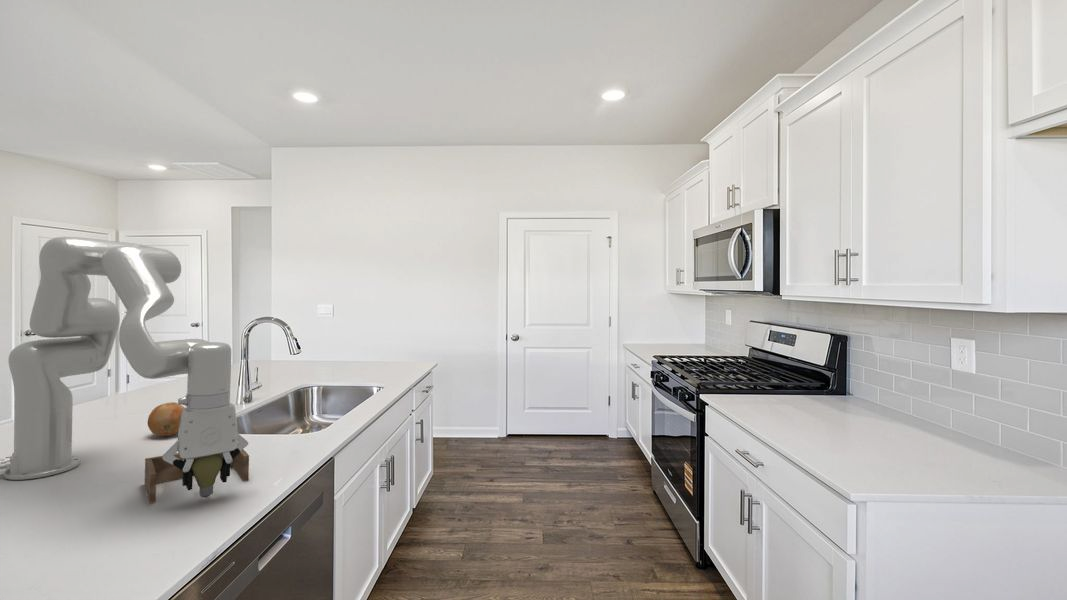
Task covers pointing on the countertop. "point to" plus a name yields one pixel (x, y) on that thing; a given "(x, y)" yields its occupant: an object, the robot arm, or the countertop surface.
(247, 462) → the brown legged wooden frame
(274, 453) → the countertop surface
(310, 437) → the countertop surface
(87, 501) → the countertop surface
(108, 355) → the robot arm
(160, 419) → the onion
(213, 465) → the light bulb
